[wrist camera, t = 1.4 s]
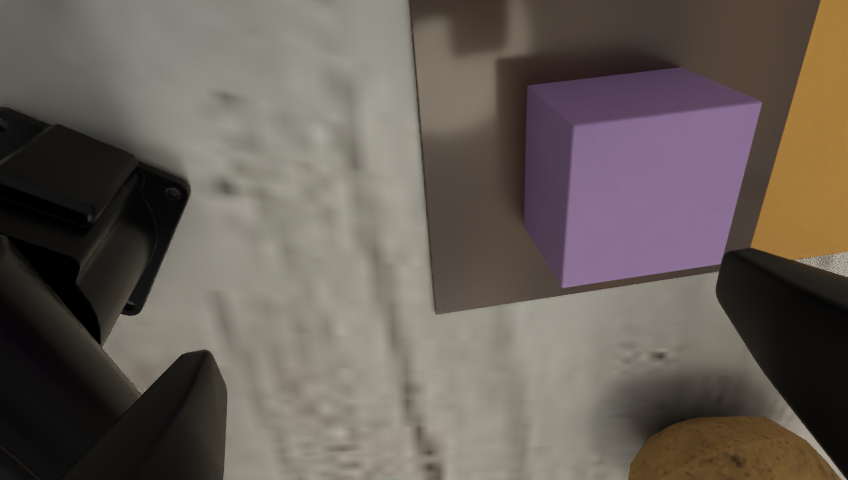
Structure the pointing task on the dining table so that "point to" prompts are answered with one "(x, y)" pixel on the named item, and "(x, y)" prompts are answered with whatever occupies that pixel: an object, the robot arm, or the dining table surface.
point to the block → (634, 172)
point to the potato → (728, 452)
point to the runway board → (563, 61)
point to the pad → (812, 151)
